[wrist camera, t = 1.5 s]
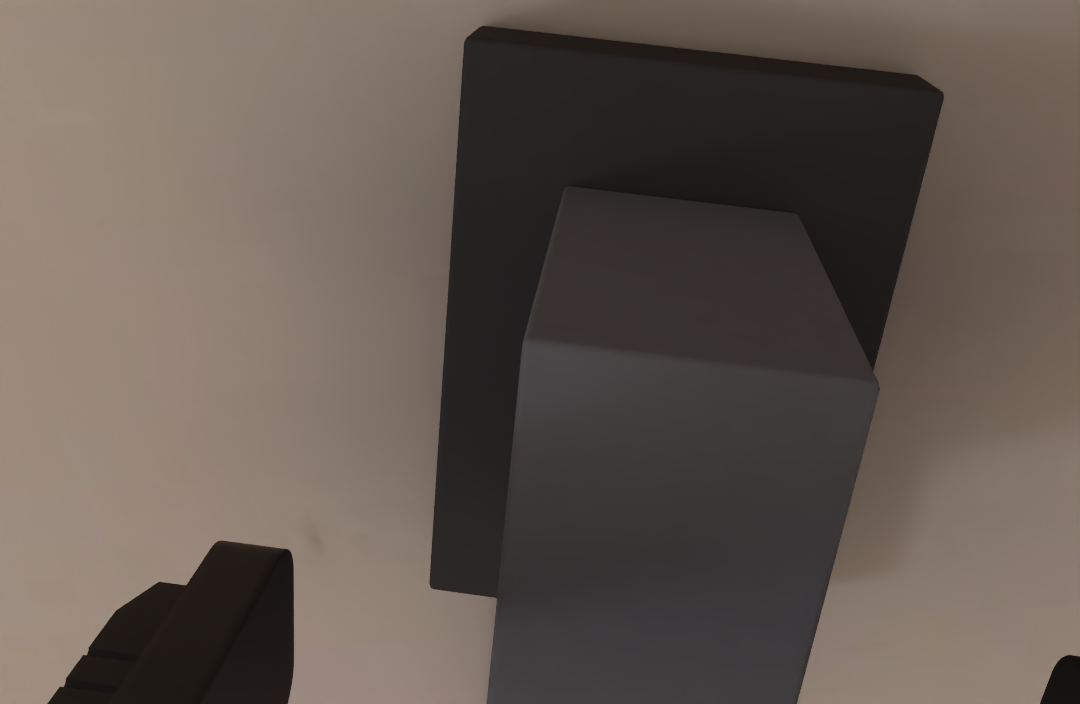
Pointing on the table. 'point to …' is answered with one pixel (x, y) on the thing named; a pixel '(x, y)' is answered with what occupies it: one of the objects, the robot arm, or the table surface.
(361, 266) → the table surface
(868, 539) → the table surface
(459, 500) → the pad
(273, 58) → the table surface
